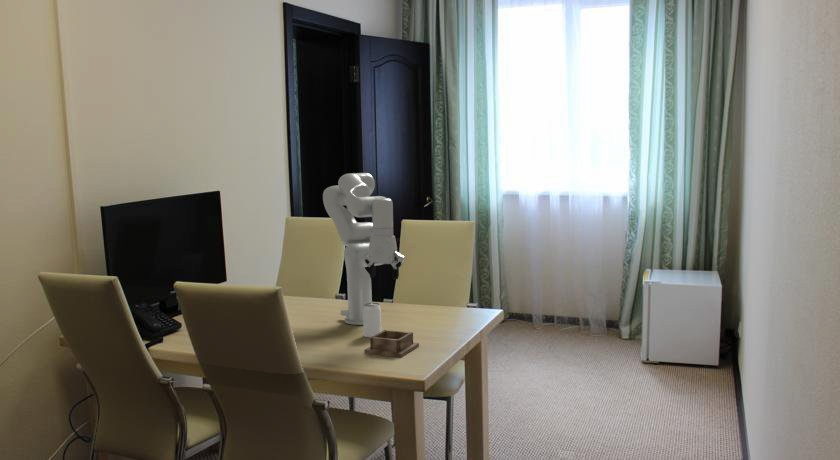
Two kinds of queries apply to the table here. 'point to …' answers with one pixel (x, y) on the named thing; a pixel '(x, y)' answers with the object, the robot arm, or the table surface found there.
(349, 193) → the robot arm
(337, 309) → the table surface
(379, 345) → the holder
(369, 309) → the can
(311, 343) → the table surface
